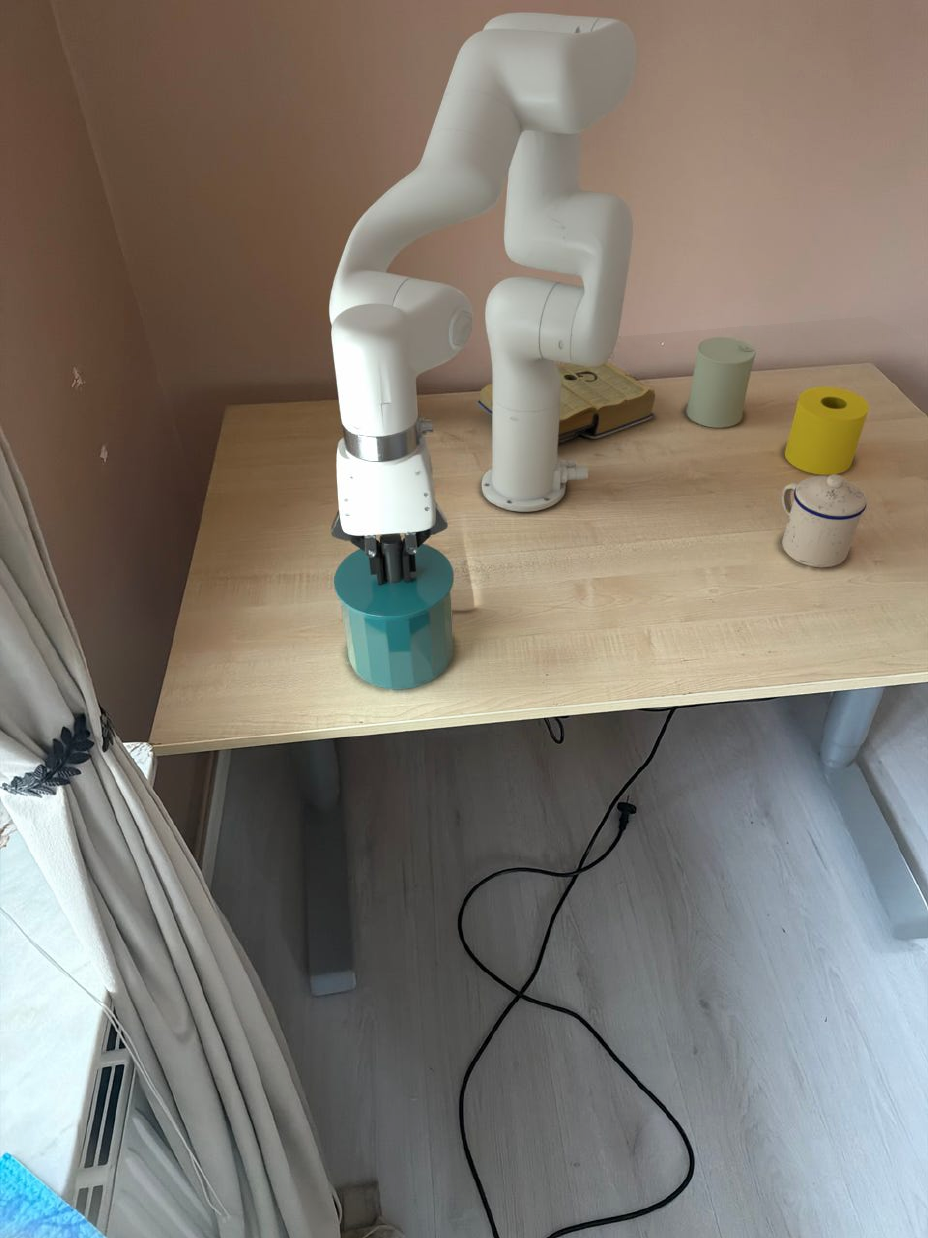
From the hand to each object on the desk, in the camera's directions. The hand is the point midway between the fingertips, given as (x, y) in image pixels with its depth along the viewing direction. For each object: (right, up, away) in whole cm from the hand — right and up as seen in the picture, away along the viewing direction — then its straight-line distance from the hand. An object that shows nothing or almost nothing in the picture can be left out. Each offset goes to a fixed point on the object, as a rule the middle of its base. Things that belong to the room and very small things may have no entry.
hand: (393, 575), depth 101 cm
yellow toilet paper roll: (+63, +20, +39) cm, 77 cm away
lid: (0, -1, 0) cm, 1 cm away
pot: (0, -9, +8) cm, 12 cm away
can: (+50, +29, +49) cm, 76 cm away
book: (+25, +29, +49) cm, 62 cm away
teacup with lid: (+56, +5, +23) cm, 60 cm away
